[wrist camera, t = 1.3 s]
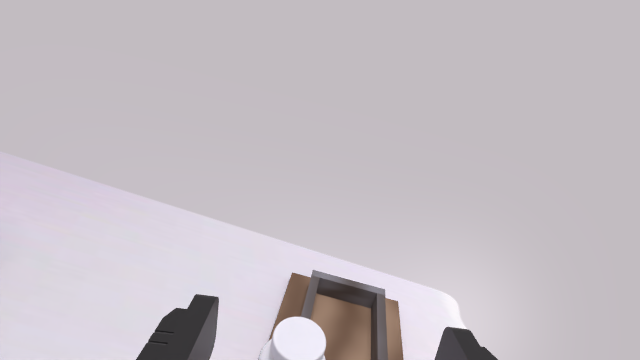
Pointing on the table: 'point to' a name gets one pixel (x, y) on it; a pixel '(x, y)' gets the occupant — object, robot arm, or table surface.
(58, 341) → the table surface
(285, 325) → the supplement bottle
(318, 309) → the u holder
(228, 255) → the table surface
